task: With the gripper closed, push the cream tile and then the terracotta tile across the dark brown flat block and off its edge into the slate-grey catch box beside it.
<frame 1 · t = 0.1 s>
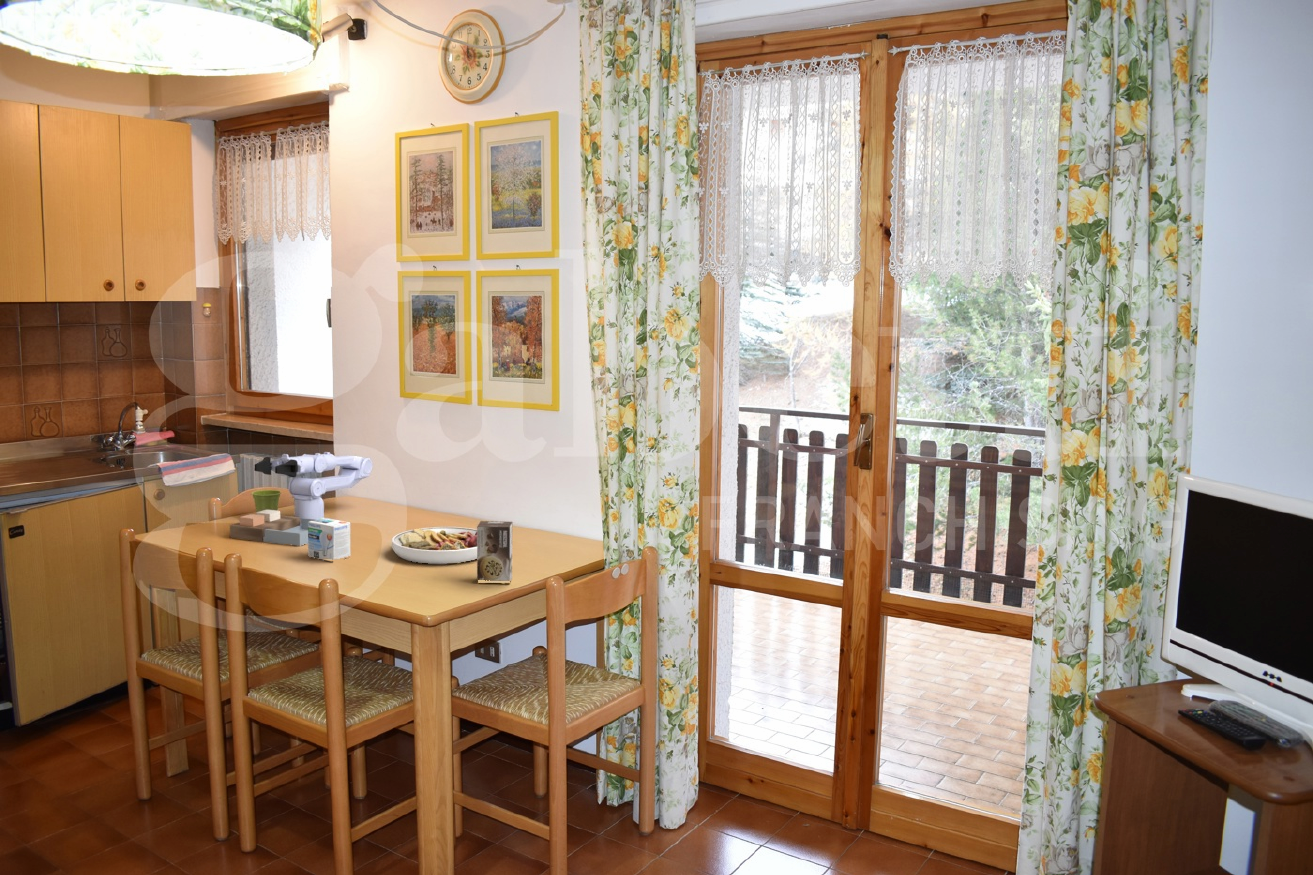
hand: (265, 468, 294), 22 cm above the table, tool horizontal, fingers open, 7 cm apart
bowl: (443, 554, 285), on the table
dark brown flat block: (266, 533, 300), on the table
coffee box: (494, 581, 258), on the table
terracotta tile: (252, 524, 295), point 4 cm above the table, touching dark brown flat block
plant pot: (267, 517, 323), on the table
catch box: (300, 537, 297), on the table
light bulb box: (329, 558, 275), on the table
cream tile: (268, 519, 302), point 4 cm above the table, touching dark brown flat block
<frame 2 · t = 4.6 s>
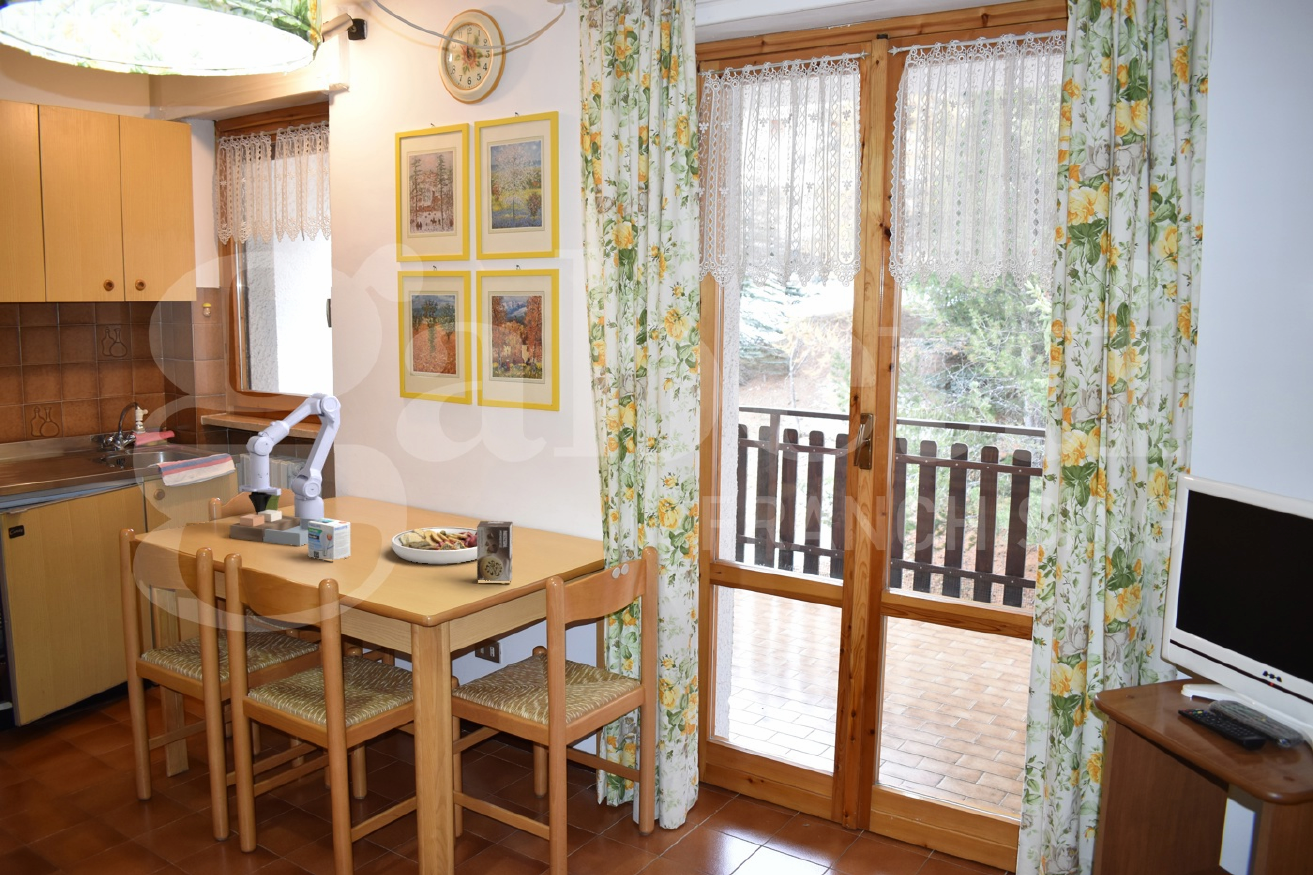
hand: (260, 515, 303), 5 cm above the table, tool pointing down, fingers closed
cream tile: (269, 519, 302), point 4 cm above the table, touching gripper
everything else where it was.
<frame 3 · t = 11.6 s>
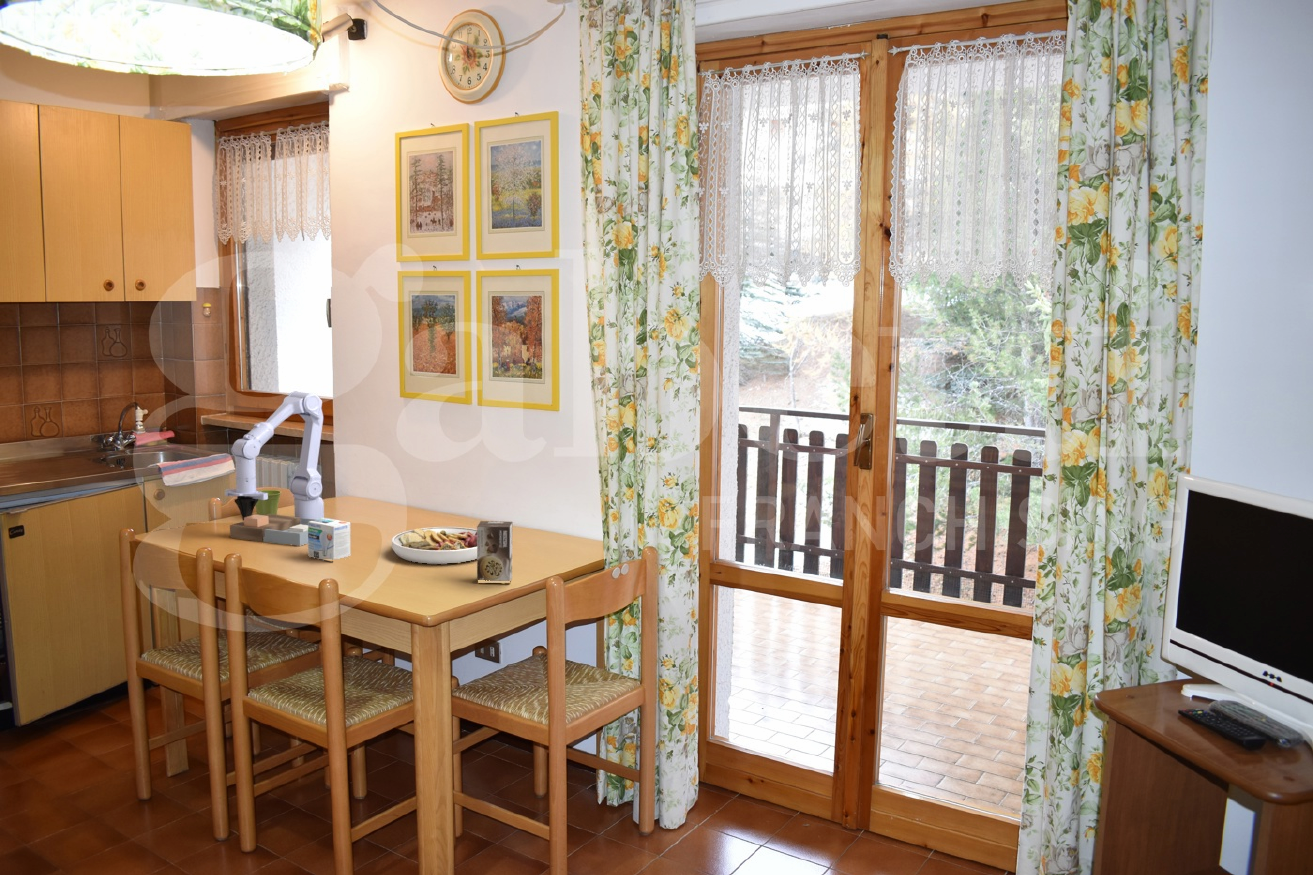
hand: (246, 520, 296), 5 cm above the table, tool pointing down, fingers closed
terracotta tile: (256, 524, 295), point 4 cm above the table, touching gripper, dark brown flat block
cream tile: (301, 526, 299), point 3 cm above the table, tilted 180°, touching catch box
everything else where it was.
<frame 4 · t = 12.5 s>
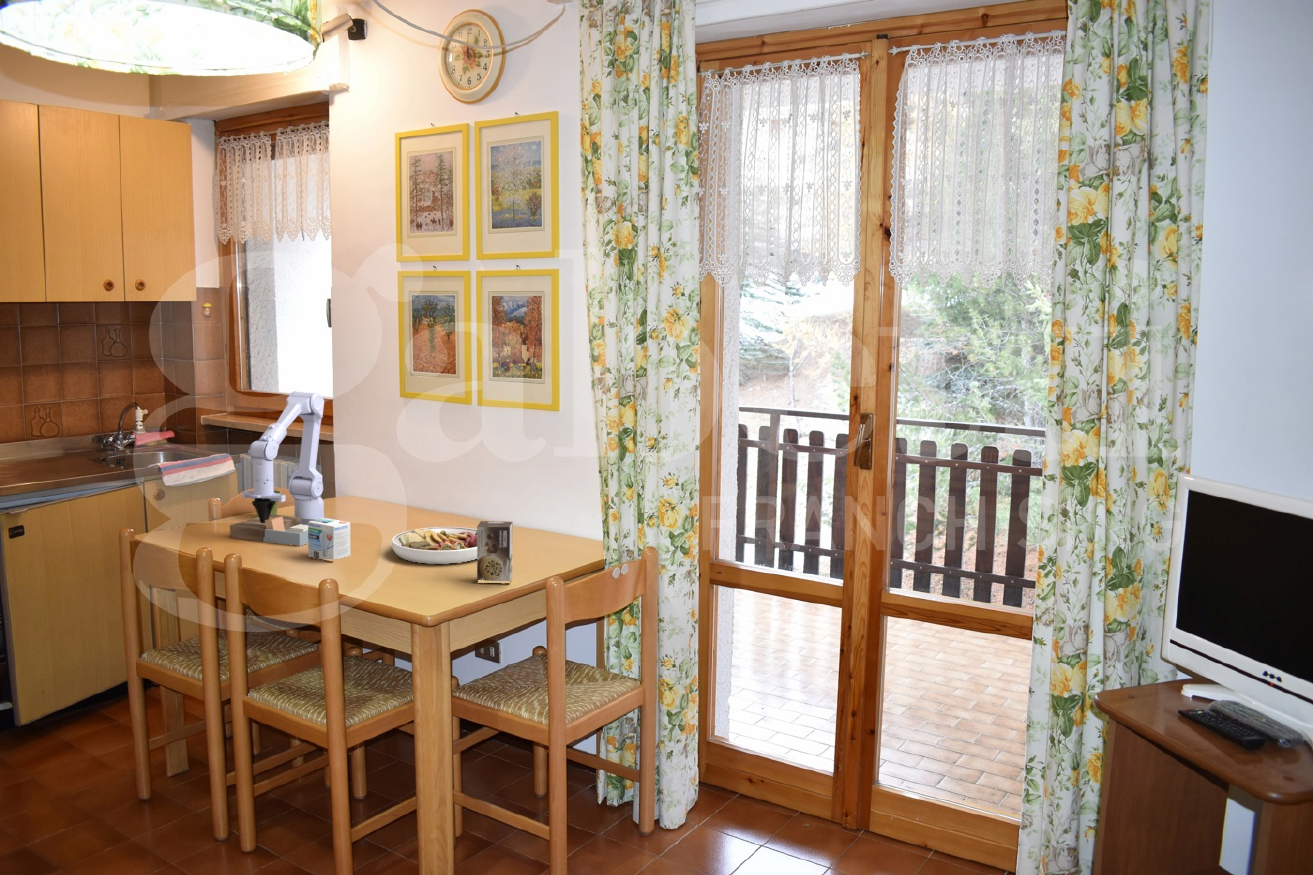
hand: (264, 522, 294), 5 cm above the table, tool pointing down, fingers closed
terracotta tile: (271, 526, 293), point 4 cm above the table, tilted 79°, touching catch box
everything else where it was.
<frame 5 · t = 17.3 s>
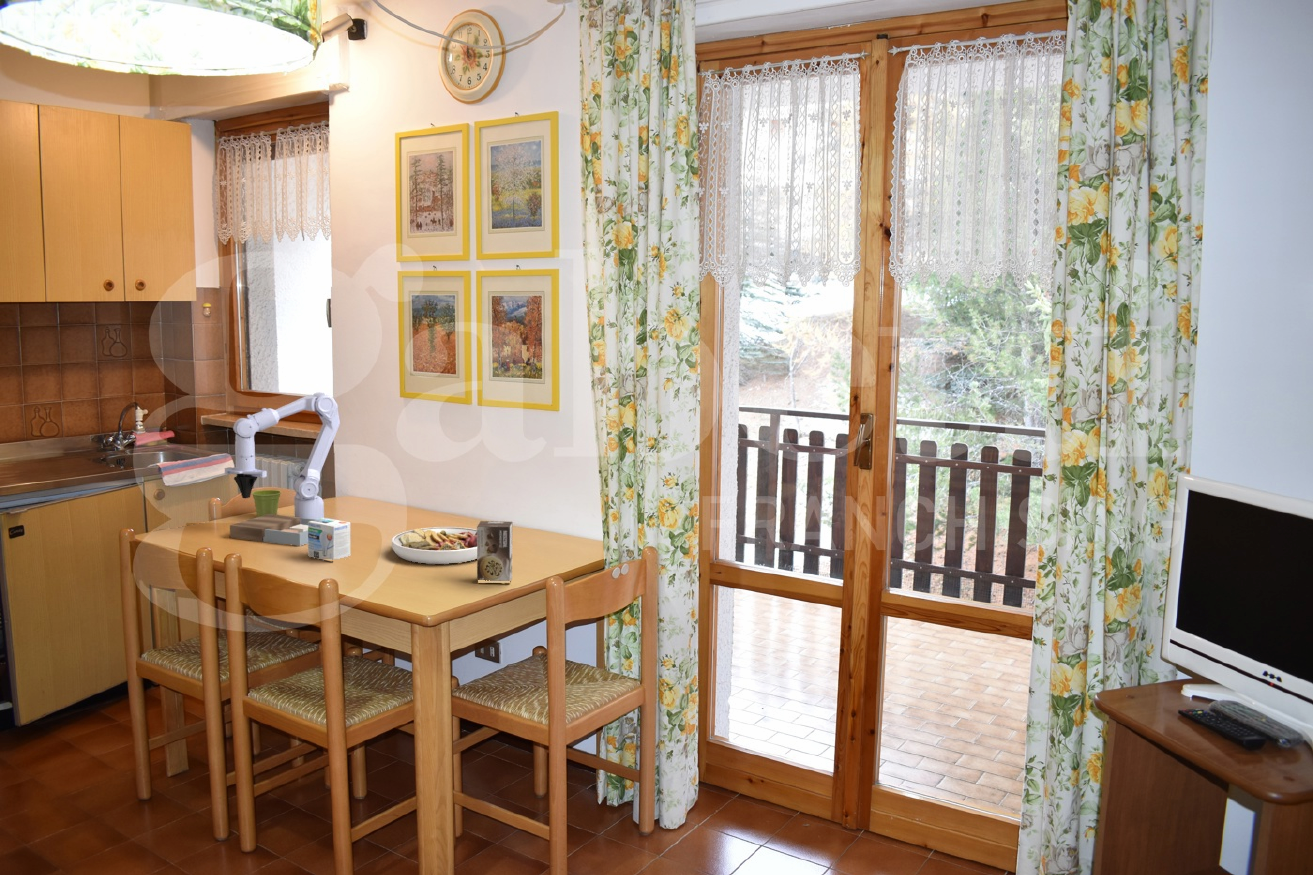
hand: (246, 497, 303), 10 cm above the table, tool pointing down, fingers closed
terracotta tile: (286, 531, 292), point 3 cm above the table, tilted 180°, touching catch box
everything else where it was.
at the end: cream tile inside the target area on the catch box (2.8 cm from its centre), point 2.9 cm above the catch box's base; terracotta tile inside the target area on the catch box (5.2 cm from its centre), point 2.9 cm above the catch box's base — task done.
